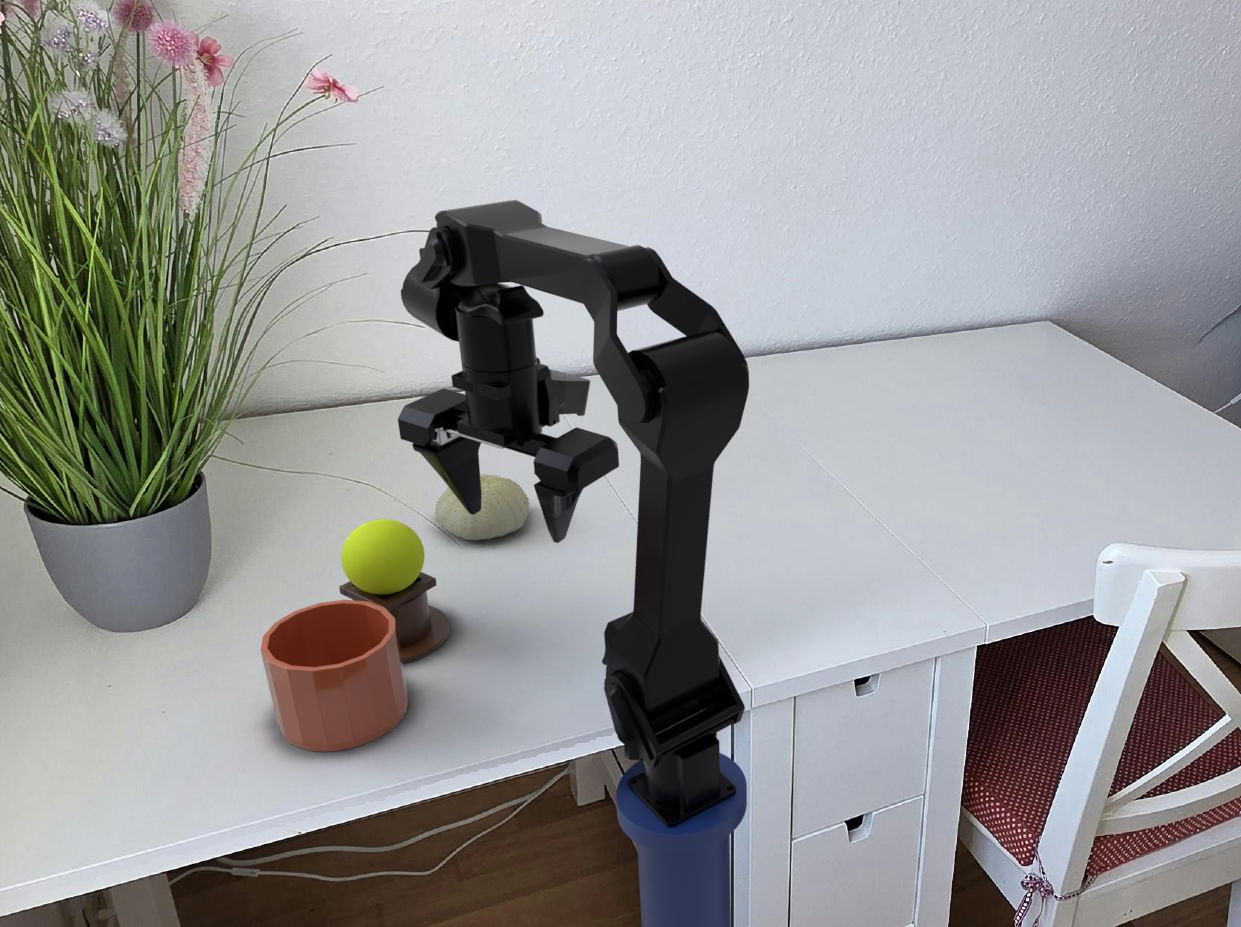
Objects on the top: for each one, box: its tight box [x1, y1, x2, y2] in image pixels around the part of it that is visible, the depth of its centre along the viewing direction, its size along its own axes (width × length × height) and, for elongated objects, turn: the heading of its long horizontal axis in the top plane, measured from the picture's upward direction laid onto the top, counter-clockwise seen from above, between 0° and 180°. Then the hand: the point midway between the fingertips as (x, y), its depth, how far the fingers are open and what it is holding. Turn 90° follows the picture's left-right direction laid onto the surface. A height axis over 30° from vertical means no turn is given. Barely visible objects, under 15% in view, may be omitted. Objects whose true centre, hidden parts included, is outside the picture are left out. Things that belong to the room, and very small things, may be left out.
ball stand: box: [338, 571, 451, 664], centre depth 109 cm, size 9×9×6 cm
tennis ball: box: [340, 518, 426, 595], centre depth 107 cm, size 7×7×7 cm
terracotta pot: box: [260, 599, 409, 752], centre depth 99 cm, size 10×10×8 cm
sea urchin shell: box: [434, 473, 530, 541], centre depth 128 cm, size 9×8×8 cm
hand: (516, 526), depth 106 cm, fingers open, 9 cm apart
